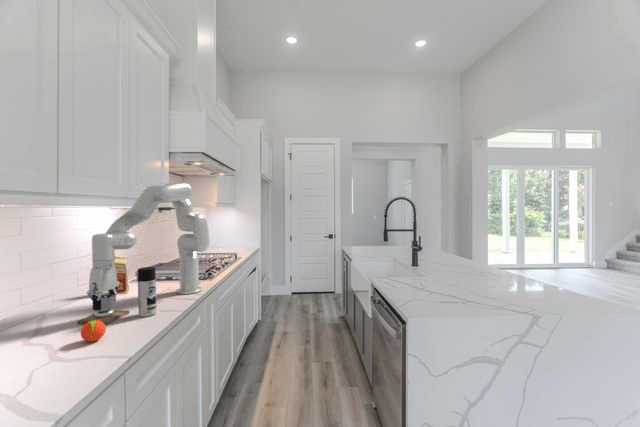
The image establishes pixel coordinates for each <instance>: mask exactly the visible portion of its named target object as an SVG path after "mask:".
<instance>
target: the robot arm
mask: <svg viewBox="0 0 640 427" xmlns="http://www.w3.org/2000/svg"><path fill="white" fill-rule="evenodd" d="M192 194H193V187H192V186H191V185H190V184H189V183H187V182H171V183H170V182H169V183H165V184H158V185H157V184H156V185H154V184H153V185H149V186H147V187H146V188H145V189H143V191H142V192H141V193H140V195H139V197H138V198H137V199H136V201H135V202H134V204H133V205H132V207H131V208H130V209H129V210H128V211H125V213H123V214H122V215H121V216H120V217H117V219H115V221H114V222H113V223H112V224H111V225H110V226H109V228H108V229H107V230H106V232H105V233H96V234H93V235H92V238H91V254H92V257H91V259H92V262H91V263H92V268H91V269H90V273H89V278H88V279H89V282H88V290H87V292H86V294H87V296H88V297H89V298H90V300H91V301H92V310H93V311H94V310H100V309H101V300H100V297H101V295H103V293H106V292H107V293H108V294H115V303H117V297H116V296H117V295H116V293H117V289H118V286H119V284H120V282H119V281H117V274H116V268H115V255H116V253H115V251H116V250H117V251H118V250H129V249H133V247H134V246H135V245H136V244H137V240H138V239H137V237H136V235H135V234H133V233H132V232H128V231H129V230H130V229H131V228H133V227H134V226H137V225H139V224H141V223H144V222H146V221H147V220H149V219H150V218H151V216H152V215H153V213H154V212H155V211H156V209H157V207H158V206H159V204H168V203H170V204H172V205H173V207H174V211H175V217H176V223H177V228H178V230H180V231H182V232H185V233H183V234H181V235H180V236H179V237H178V238H177V242H176V243H177V250H178V258H179V288H178V289H177V290H176V293H177V294H179V295H190V294H197V293H199V292H201V291H202V290H203V288H202V287H201V286H200V284H202V283H201V282H202V281H201V280H200V278H199V277H200V276H199V269H200V267H199V266H200V265H199V255H198V253H202V252H206V251H207V250H208V249H209V246H210V235H209V226H208V221H207V219H206V217H205V216H204V215H202V214H200V213H194V210H193V205H192V201H191V199H189V198H191V197H192ZM186 232H188V233H186ZM197 252H198V253H197Z"/></svg>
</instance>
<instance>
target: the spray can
mask: <svg viewBox="0 0 640 427" xmlns="http://www.w3.org/2000/svg"><path fill="white" fill-rule="evenodd" d="M156 281H157V277H156V267H154V266H144V267H139V268H137V296H138V297H137V300H138V302H137V303H138V306H137V307H138V316H139V317H140V318H147V317H152V316H155V315H156V314H157V288H156V287H157V284H156V283H157V282H156Z"/></svg>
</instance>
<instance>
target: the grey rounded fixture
mask: <svg viewBox="0 0 640 427" xmlns="http://www.w3.org/2000/svg"><path fill="white" fill-rule="evenodd" d="M114 310H115V308H113V309H111V310H106V311H94V314H95V318H106V317H110V316H113V315H114Z"/></svg>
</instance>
